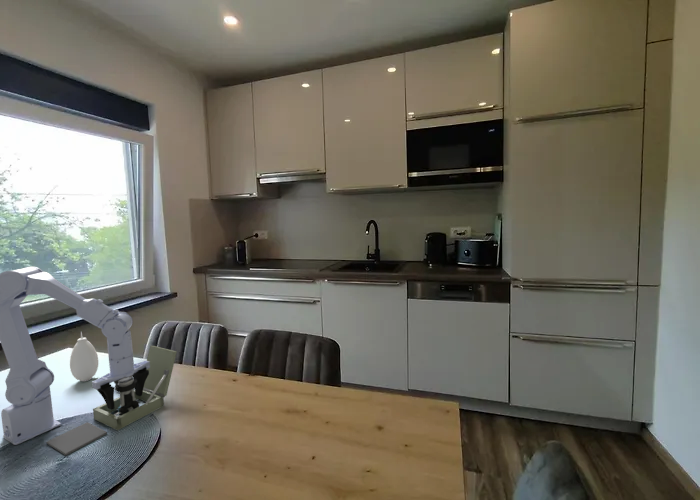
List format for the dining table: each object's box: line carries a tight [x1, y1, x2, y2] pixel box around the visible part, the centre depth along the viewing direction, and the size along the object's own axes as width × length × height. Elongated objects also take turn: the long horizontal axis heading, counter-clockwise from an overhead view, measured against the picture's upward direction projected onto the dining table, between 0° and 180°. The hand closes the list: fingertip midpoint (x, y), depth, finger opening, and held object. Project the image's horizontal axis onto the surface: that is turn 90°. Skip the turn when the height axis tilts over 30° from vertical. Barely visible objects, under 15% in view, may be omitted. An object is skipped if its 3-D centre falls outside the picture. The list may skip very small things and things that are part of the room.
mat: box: [45, 421, 108, 456], centre depth 86 cm, size 9×10×1 cm
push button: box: [113, 377, 140, 417], centre depth 96 cm, size 7×5×10 cm
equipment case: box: [92, 345, 177, 431], centre depth 99 cm, size 18×12×15 cm, turn 152°
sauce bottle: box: [69, 331, 99, 383], centre depth 118 cm, size 8×8×18 cm
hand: (125, 401), depth 96 cm, fingers open, 7 cm apart
